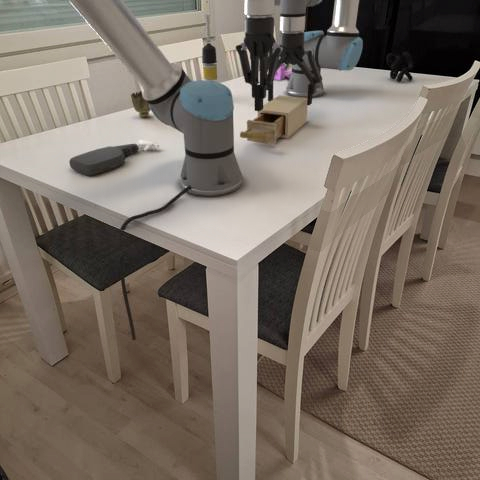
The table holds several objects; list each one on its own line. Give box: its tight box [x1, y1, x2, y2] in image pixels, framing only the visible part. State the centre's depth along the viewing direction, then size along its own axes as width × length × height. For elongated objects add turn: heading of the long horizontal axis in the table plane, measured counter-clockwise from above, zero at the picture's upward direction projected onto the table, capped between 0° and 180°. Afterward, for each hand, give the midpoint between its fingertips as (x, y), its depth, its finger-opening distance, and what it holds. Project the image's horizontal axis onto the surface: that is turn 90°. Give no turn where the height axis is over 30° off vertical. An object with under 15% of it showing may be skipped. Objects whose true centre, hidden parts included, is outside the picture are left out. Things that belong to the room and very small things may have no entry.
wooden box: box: [257, 94, 308, 140], centre depth 144 cm, size 18×10×8 cm, turn 154°
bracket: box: [274, 63, 292, 81], centre depth 208 cm, size 13×6×7 cm, turn 143°
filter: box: [201, 14, 218, 82], centre depth 171 cm, size 6×6×30 cm
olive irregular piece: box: [130, 90, 151, 118], centre depth 157 cm, size 8×7×8 cm
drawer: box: [239, 113, 286, 146], centre depth 135 cm, size 23×9×6 cm, turn 154°
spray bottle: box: [68, 139, 160, 177], centre depth 124 cm, size 3×11×24 cm
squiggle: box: [385, 51, 414, 83], centre depth 198 cm, size 11×10×15 cm
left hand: (258, 109), depth 125 cm, fingers closed
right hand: (289, 102), depth 146 cm, fingers open, 13 cm apart
